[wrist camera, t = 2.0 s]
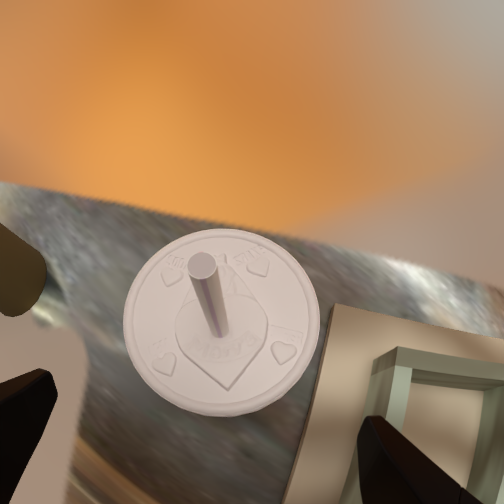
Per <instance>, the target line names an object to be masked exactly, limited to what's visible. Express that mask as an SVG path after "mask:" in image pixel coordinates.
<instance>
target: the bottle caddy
mask: <svg viewBox="0 0 504 504" xmlns="http://www.w3.org/2000/svg"><path fill="white" fill-rule="evenodd" d="M368 415H381V416H382V417H384V418H385V419H386V420H387V421H388V422H389V423H390V424H391V425H392V426H394V427H395V428H396V429H397V430H398V431H399V432H400V433H401V434H402V435H404V436H405V437H406V438H407V439H408V440H409V441H410V442H411V443H413V444H414V445H415V446H416V447H417V448H418V449H419V450H421V451H422V452H423V453H424V454H425V455H426V456H427V457H429V458H430V459H431V460H432V461H433V462H434V463H435V464H437V465H438V466H439V467H440V468H441V469H442V470H444V471H445V472H446V473H447V474H448V475H449V476H450V477H452V478H453V479H454V480H455V481H456V482H458V483H459V484H460V485H461V487H464V488H465V489H466V490H467V491H468V492H470V493H471V494H472V495H473V496H475V497H476V498H477V499H478V500H480V501H481V502H482V503H484V504H504V340H503V339H498V338H493V337H488V336H483V335H478V334H473V333H468V332H463V331H458V330H453V329H448V328H444V327H439V326H434V325H430V324H425V323H420V322H416V321H411V320H407V319H402V318H398V317H393V316H389V315H384V314H380V313H375V312H371V311H367V310H362V309H358V308H354V307H350V306H345V305H341V304H337V303H335V304H334V305H333V307H332V308H331V313H330V318H329V323H328V328H327V333H326V338H325V343H324V347H323V352H322V356H321V361H320V365H319V370H318V374H317V378H316V383H315V387H314V391H313V395H312V399H311V403H310V407H309V411H308V415H307V419H306V422H305V426H304V430H303V433H302V437H301V440H300V444H299V447H298V451H297V454H296V458H295V461H294V464H293V468H292V471H291V474H290V477H289V481H288V484H287V487H286V490H285V493H284V496H283V499H282V502H281V504H363V503H362V498H361V492H360V485H359V469H358V455H357V435H358V433H359V430H360V428H361V425H362V423H363V421H364V418H365V417H366V416H368Z"/></svg>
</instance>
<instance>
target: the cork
mask: <svg viewBox="0 0 504 504" xmlns="http://www.w3.org/2000/svg"><path fill="white" fill-rule="evenodd" d="M45 281H46V264H45V260H44V258H43V257H42V255H41V254H40V252H38V251H37V250H36V249H34V248H33V247H32V246H30V245H29V244H27V243H26V242H25V241H23V240H22V239H21V238H19V237H18V236H17V235H15V234H14V233H13V232H11V231H10V230H9V229H8V228H6V227H5V226H4V225H2V224H1V223H0V312H1V313H2V314H4V315H5V316H10V317H15V316H19V315H22V314H23V313H25V312H26V311H28V310H30V308H31V307H32V306H33V305H34V304H35V303H36V302H37V300H38V298H39V296H40V295H41V293H42V291H43V288H44V284H45Z"/></svg>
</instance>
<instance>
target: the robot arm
mask: <svg viewBox="0 0 504 504" xmlns="http://www.w3.org/2000/svg"><path fill="white" fill-rule="evenodd" d="M57 397H58V392H57V389H56V386H55V383H54V380H53V376H52V374H51V373H50V372H49V371H47V370H44V369H40V368H39V369H36V370H33V371H31V372H28V373H25V374H23V375H20V376H18V377H15V378H13V379H10V380H8V381H5V382H3V383H0V504H9V502H10V500H11V498H12V496H13V493H14V491H15V489H16V487H17V485H18V483H19V480H20V478H21V476H22V474H23V472H24V470H25V468H26V466H27V464H28V462H29V460H30V458H31V456H32V454H33V452H34V450H35V448H36V446H37V445H38V443H39V441H40V439H41V437H42V434H43V432H44V429H45V427H46V425H47V422H48V420H49V417H50V415H51V412H52V410H53V408H54V405H55V403H56V400H57ZM357 455H358V469H359V485H360V492H361V498H362V503H363V504H484V503H482V502H481V501H480V500H478V499H477V498H476V497H475V496H473V495H472V494H471V493H470V492H468V491H467V490H466V489H465V488H464V487H461V485H460V484H459V483H458V482H456V481H455V480H454V479H453V478H452V477H450V476H449V475H448V474H447V473H446V472H445V471H444V470H442V469H441V468H440V467H439V466H438V465H437V464H435V463H434V462H433V461H432V460H431V459H430V458H429V457H427V456H426V455H425V454H424V453H423V452H422V451H421V450H419V449H418V448H417V447H416V446H415V445H414V444H413V443H411V442H410V441H409V440H408V439H407V438H406V437H405V436H404V435H402V434H401V433H400V432H399V431H398V430H397V429H396V428H395V427H394V426H392V425H391V424H390V423H389V422H388V421H387V420H386V419H385V418H384V417H382V416H381V415H368V416H366V417H365V418H364V421H363V423H362V425H361V428H360V430H359V433H358V435H357Z"/></svg>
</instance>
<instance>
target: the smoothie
mask: <svg viewBox="0 0 504 504" xmlns="http://www.w3.org/2000/svg"><path fill="white" fill-rule="evenodd" d="M319 326H320V315H319V306H318V301H317V297H316V294H315V291H314V288H313V286H312V283H311V281H310V279H309V277H308V276H307V274H306V273H305V271H304V269H303V268H302V267H301V266H300V264H299V263H298V262H297V261H296V260H295V259H294V258H293V257H292V256H291V255H290V254H289V253H288V252H287V251H286V250H284V249H283V248H282V247H280V246H279V245H277V244H276V243H274V242H272V241H271V240H268V239H266V238H264V237H262V236H259V235H257V234H254V233H250V232H247V231H241V230H235V229H210V230H204V231H199V232H195V233H192V234H189V235H186V236H184V237H181V238H179V239H177V240H175V241H173V242H171V243H169V244H168V245H166V246H165V247H163V248H162V249H161V250H159V251H158V252H157V253H156V254H155V255H154V256H152V257H151V258H150V259H149V260H148V262H147V263H146V264H145V265H144V266H143V268H142V269H141V270H140V272H139V273H138V275H137V276H136V278H135V280H134V282H133V284H132V286H131V288H130V290H129V293H128V296H127V299H126V303H125V309H124V317H123V329H124V338H125V343H126V347H127V350H128V353H129V356H130V358H131V360H132V362H133V364H134V366H135V368H136V370H137V371H138V373H139V374H140V376H141V377H142V378H143V380H144V381H145V382H146V383H147V384H148V385H149V386H150V387H151V388H152V389H153V390H154V391H155V392H156V393H158V394H159V395H160V396H161V397H163V398H164V399H166V400H167V401H169V402H171V403H173V404H175V405H176V406H178V407H179V408H182V409H185V410H188V411H191V412H194V413H197V414H200V415H203V416H215V417H234V416H239V415H243V414H247V413H251V412H255V411H259V410H260V409H262V408H264V407H266V406H268V405H269V404H271V403H273V402H275V401H276V400H278V399H280V398H282V397H283V396H284V395H285V394H286V392H287V391H288V390H289V389H290V388H291V387H292V386H293V385H294V384H295V383H296V382H297V381H298V380H299V379H300V378H301V376H302V374H303V372H304V371H305V369H306V368H307V366H308V364H309V362H310V360H311V358H312V356H313V353H314V351H315V348H316V344H317V340H318V335H319Z"/></svg>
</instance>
